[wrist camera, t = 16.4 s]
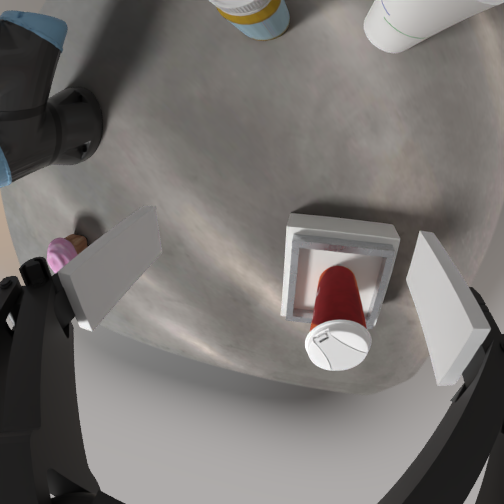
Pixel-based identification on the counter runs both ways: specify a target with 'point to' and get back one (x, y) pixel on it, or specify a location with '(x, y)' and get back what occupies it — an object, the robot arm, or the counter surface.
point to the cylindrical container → (416, 20)
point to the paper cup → (338, 322)
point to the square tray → (336, 261)
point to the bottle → (256, 17)
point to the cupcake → (64, 250)
